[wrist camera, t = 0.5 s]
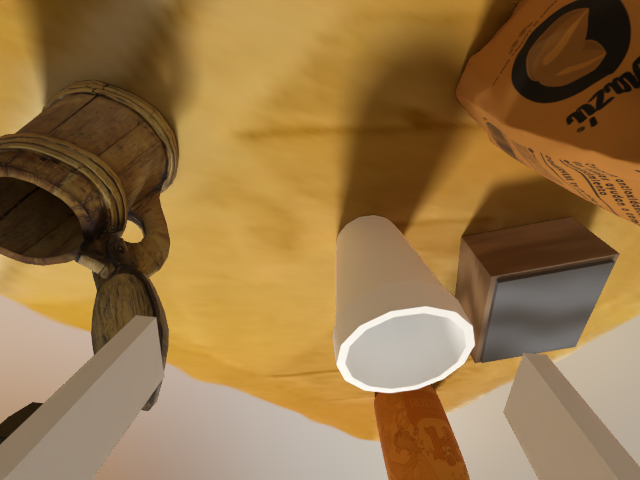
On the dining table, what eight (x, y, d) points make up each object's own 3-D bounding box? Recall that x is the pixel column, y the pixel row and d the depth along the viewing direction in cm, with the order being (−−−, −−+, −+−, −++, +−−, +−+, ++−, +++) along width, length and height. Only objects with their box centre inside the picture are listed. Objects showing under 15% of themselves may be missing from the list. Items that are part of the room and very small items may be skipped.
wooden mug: (191, 241, 31) (109, 450, 17) (30, 148, 25) (-318, 351, 11) (248, 175, 28) (207, 365, 13) (77, 49, 22) (-338, 148, 7)
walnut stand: (461, 236, 34) (493, 279, 28) (570, 216, 33) (623, 256, 28) (452, 320, 41) (476, 366, 36) (541, 304, 41) (578, 348, 36)
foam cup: (357, 183, 29) (398, 286, 19) (433, 226, 33) (504, 333, 22) (303, 257, 34) (311, 375, 23) (375, 288, 37) (410, 403, 26)
